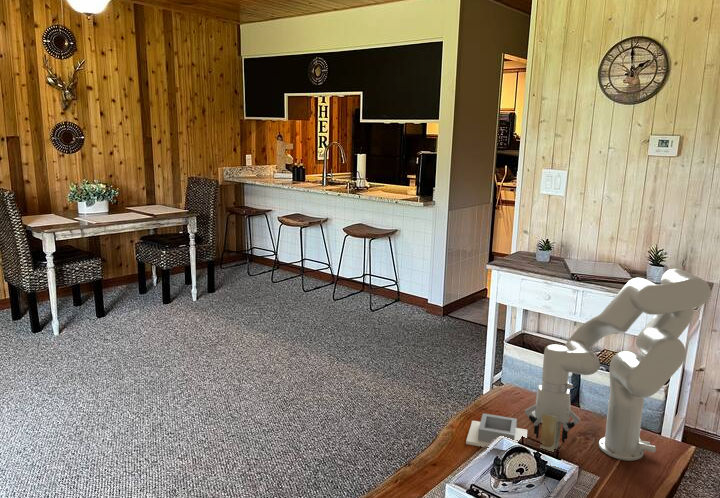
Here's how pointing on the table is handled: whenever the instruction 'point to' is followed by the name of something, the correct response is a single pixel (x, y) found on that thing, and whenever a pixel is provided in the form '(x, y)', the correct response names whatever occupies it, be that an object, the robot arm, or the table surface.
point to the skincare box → (550, 432)
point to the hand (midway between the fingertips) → (550, 437)
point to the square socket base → (493, 430)
